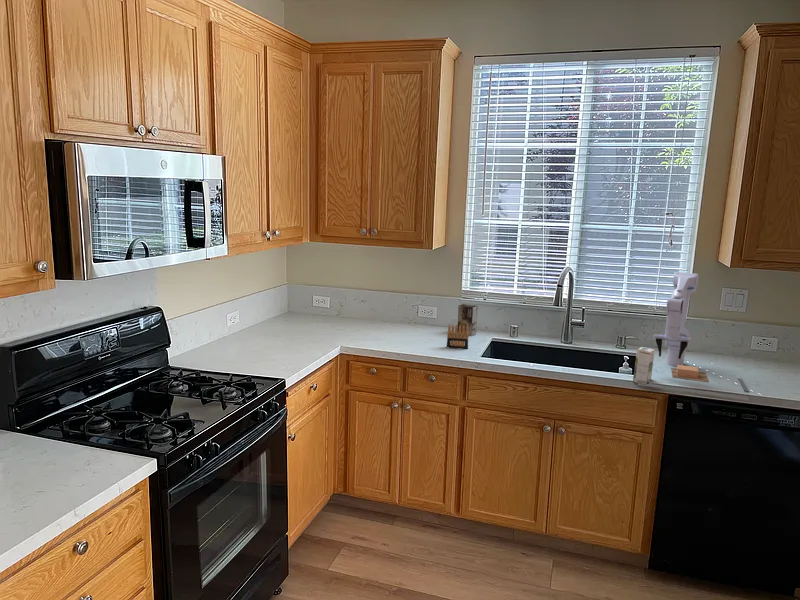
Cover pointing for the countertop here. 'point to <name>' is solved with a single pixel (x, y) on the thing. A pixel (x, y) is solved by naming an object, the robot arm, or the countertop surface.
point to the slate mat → (743, 385)
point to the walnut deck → (701, 377)
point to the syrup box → (643, 365)
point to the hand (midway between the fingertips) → (669, 357)
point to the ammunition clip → (457, 337)
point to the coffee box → (467, 318)
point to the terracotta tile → (687, 371)
